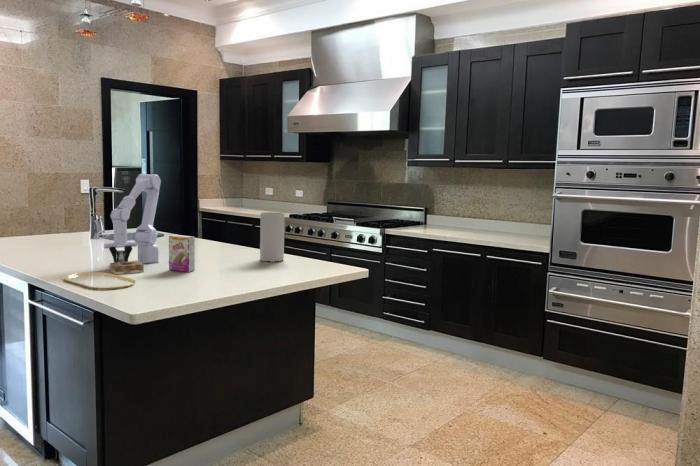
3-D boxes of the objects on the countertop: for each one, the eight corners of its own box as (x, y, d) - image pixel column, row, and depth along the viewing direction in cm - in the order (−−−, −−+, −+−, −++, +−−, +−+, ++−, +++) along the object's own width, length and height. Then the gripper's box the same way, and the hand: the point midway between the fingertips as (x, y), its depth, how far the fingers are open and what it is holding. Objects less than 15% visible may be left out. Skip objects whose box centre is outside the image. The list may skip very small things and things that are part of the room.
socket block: (137, 268, 258) (137, 260, 257) (143, 271, 250) (143, 264, 249) (110, 270, 251) (110, 263, 250) (115, 274, 243) (115, 266, 242)
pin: (123, 266, 261) (123, 250, 260) (125, 267, 258) (125, 251, 257) (116, 267, 258) (115, 250, 257) (118, 268, 256) (117, 251, 255)
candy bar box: (168, 270, 255) (168, 235, 253) (175, 268, 260) (174, 234, 258) (188, 272, 251) (188, 237, 249) (195, 270, 256) (195, 236, 254)
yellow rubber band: (98, 274, 245) (98, 270, 245) (144, 286, 224) (144, 282, 224) (56, 280, 230) (55, 276, 229) (101, 293, 209) (100, 289, 209)
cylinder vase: (268, 263, 282) (268, 214, 279) (255, 259, 291) (256, 212, 288) (288, 260, 290) (289, 214, 287) (275, 257, 300) (275, 212, 297)
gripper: (105, 235, 249) (106, 265, 250) (138, 234, 257) (139, 262, 259) (102, 234, 254) (102, 262, 256) (134, 232, 263) (134, 260, 265)
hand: (120, 262), depth 258 cm, fingers open, 4 cm apart
